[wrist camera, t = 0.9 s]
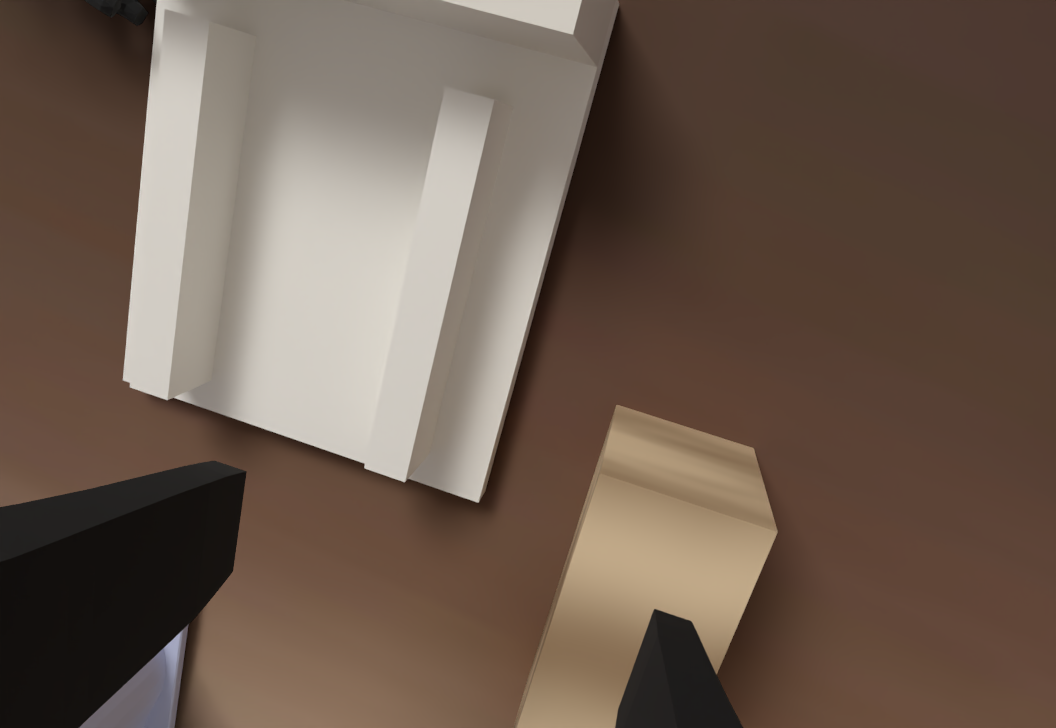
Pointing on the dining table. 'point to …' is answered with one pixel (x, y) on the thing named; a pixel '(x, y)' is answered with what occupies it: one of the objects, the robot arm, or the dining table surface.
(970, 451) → the dining table surface
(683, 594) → the tan block
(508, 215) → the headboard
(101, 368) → the dining table surface
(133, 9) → the decorative element
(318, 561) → the dining table surface
